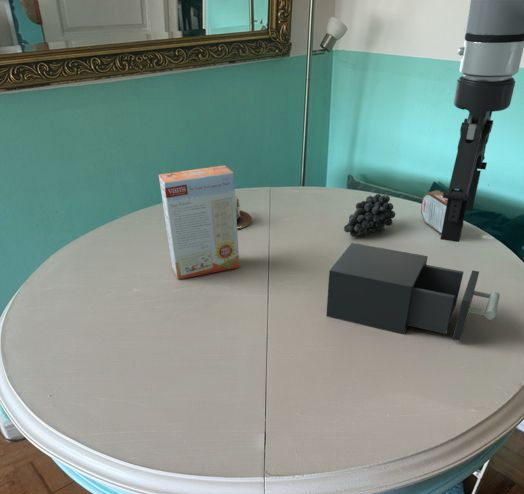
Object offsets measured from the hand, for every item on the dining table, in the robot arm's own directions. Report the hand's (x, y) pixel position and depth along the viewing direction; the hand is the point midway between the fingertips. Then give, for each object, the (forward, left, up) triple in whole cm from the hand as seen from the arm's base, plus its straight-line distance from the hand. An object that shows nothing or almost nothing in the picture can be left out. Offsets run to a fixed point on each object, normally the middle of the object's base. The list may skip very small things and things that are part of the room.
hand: (457, 223), depth 83 cm
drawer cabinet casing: (+12, 0, -19) cm, 22 cm away
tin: (+8, -42, -19) cm, 47 cm away
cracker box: (+50, -1, -19) cm, 53 cm away
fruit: (+24, -34, -19) cm, 46 cm away
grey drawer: (0, 0, -18) cm, 18 cm away
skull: (+58, -26, -19) cm, 66 cm away
